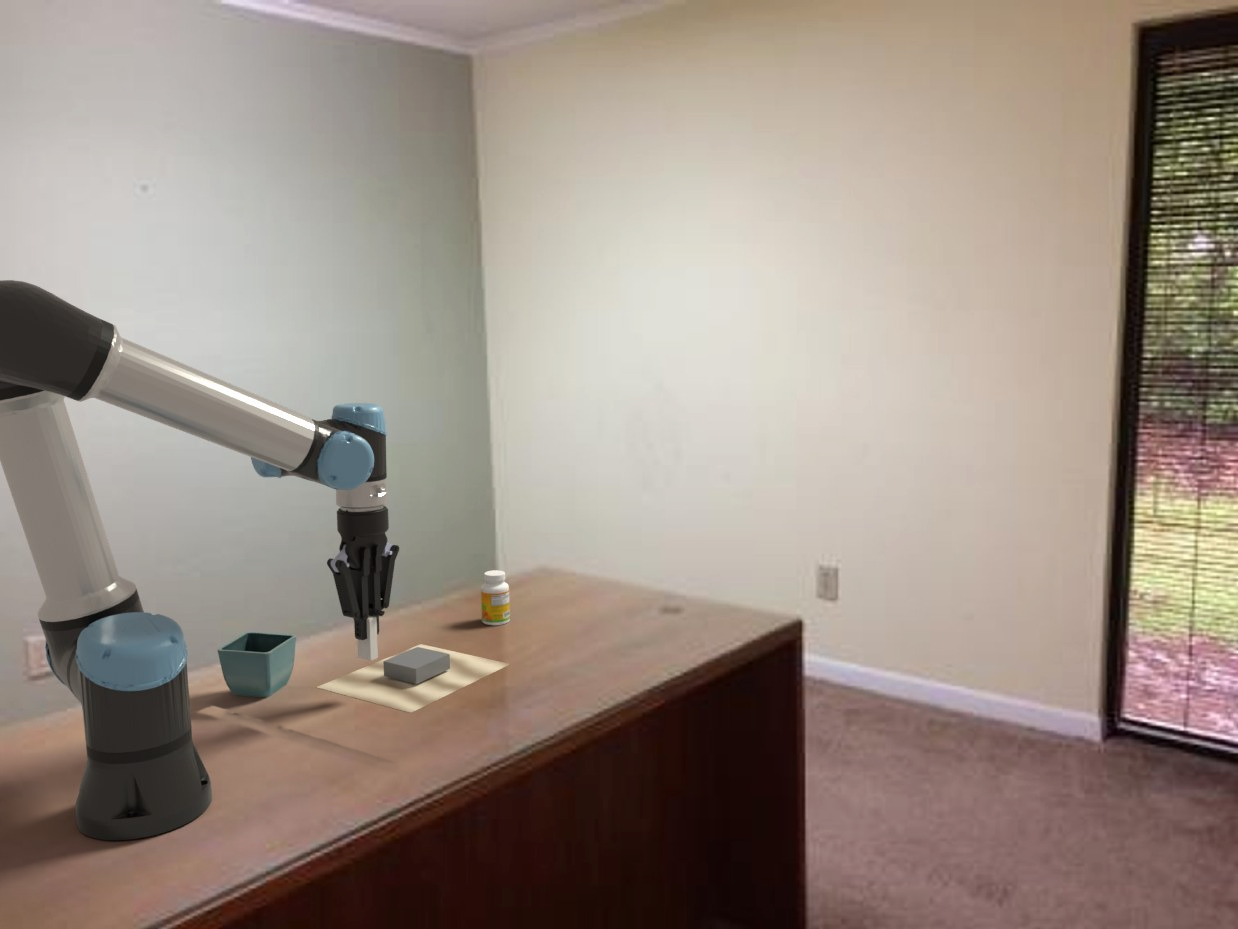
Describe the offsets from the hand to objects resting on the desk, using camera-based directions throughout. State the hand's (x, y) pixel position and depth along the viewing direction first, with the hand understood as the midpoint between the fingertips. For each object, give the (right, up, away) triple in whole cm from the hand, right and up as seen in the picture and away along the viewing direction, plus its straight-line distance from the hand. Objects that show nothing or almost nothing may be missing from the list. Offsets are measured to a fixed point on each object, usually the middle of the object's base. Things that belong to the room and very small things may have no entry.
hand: (368, 657), depth 159 cm
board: (+6, -6, +10) cm, 12 cm away
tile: (+4, -3, +6) cm, 8 cm away
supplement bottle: (+15, -1, +41) cm, 44 cm away
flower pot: (-18, -7, +4) cm, 20 cm away
